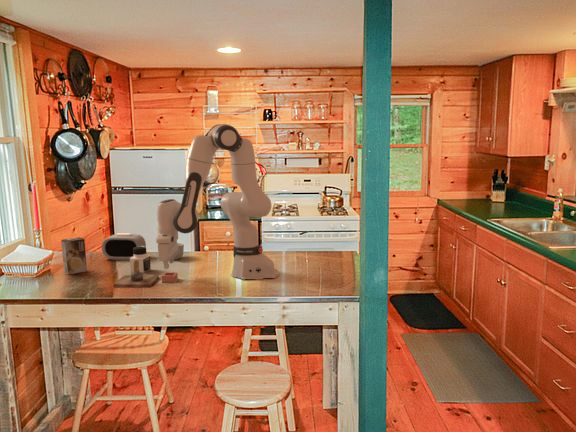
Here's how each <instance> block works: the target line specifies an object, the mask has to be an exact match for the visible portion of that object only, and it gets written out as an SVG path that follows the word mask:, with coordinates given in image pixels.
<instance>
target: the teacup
mask: <svg viewBox="0 0 576 432" xmlns="http://www.w3.org/2000/svg"><path fill="white" fill-rule="evenodd" d="M184 245H185V244H184V243H179V242H177V251H176V252H175V253H174V261H176V260H180V259H181V258H183V255H184ZM169 259H170V258H169ZM169 259H168V260H169Z"/></svg>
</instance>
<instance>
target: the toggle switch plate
mask: <svg viewBox="0 0 576 432" xmlns="http://www.w3.org/2000/svg"><path fill="white" fill-rule="evenodd" d="M133 267H134V272H130V274H127V275H126V274H125V275H123V276H121V278H119V279H118V280H117V281H116V282H114V283H113V287H114V288H151V287H152V286H154V284H155V283H156V282H157V281H158V280H159V278H160V275H155V274H154V275H153V274H152V275H149V274H148V275H143V274H144V273H143V272H139V260H133Z"/></svg>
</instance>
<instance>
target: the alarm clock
mask: <svg viewBox="0 0 576 432" xmlns="http://www.w3.org/2000/svg"><path fill="white" fill-rule="evenodd" d="M101 243H102V244H101V252H102V254H103V256H104V257H105V258H107V259H110V260H111V261H130V258H131V257H133V256H134V255H133V248H134V247H137V246H144V247H146V248H147V244H146V240H145V238H144V237H143V236H142V235H140V234H136V233H133V234H132V233H130V232H128V233H127V232H125V233H123V232H120V233H119V232H118V233H115V234H112V235H110V236H108V237H107V238H105V239H104V240H103V241H102V242H101Z"/></svg>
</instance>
